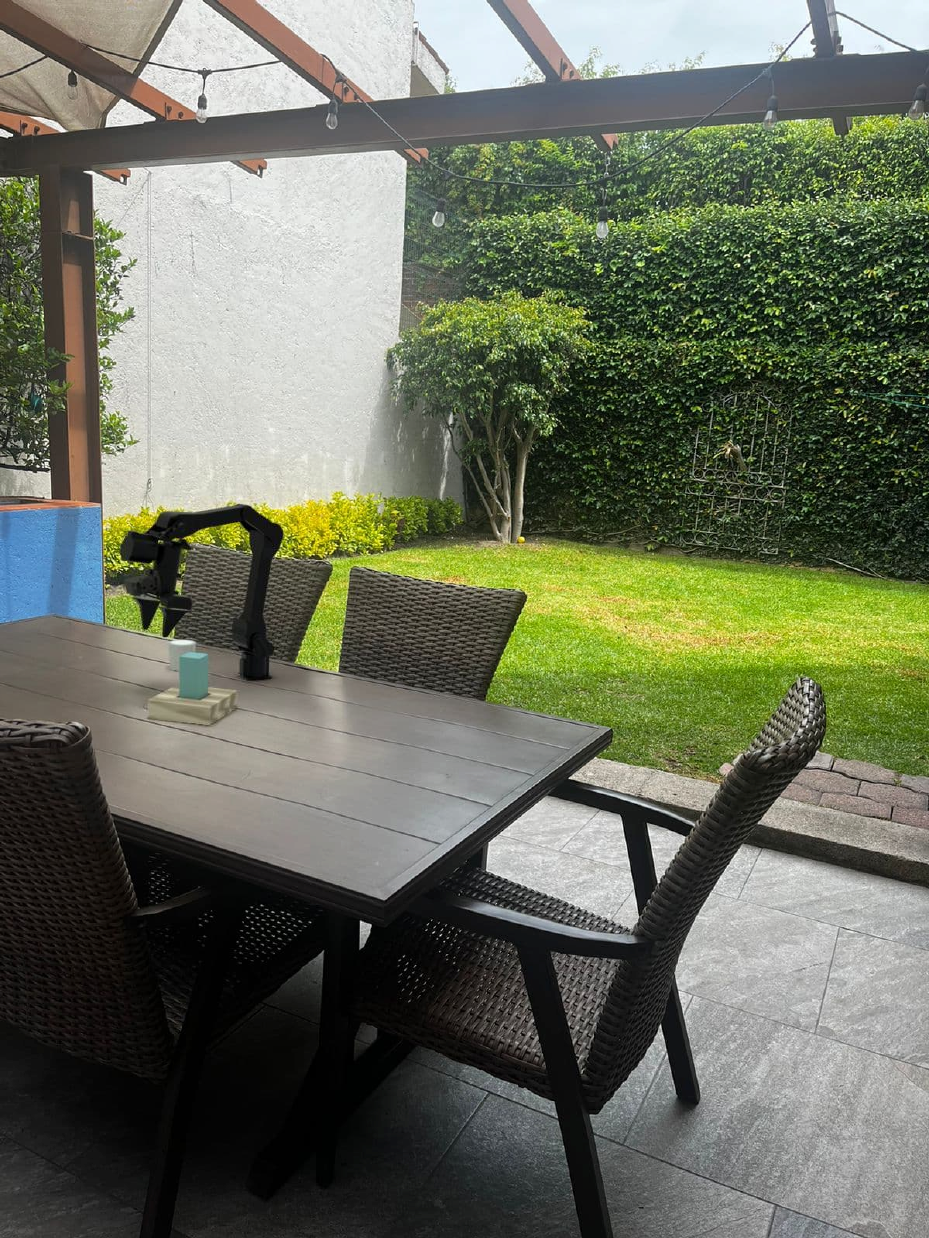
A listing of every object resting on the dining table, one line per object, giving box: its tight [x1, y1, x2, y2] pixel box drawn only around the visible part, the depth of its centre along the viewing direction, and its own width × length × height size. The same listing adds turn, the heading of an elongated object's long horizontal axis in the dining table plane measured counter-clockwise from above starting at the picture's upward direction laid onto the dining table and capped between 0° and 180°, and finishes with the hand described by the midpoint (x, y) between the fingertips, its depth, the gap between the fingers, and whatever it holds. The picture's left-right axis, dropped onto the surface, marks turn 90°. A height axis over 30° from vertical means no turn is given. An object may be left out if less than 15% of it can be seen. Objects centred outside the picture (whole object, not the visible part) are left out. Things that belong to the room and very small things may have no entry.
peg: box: [178, 652, 210, 700], centre depth 199 cm, size 4×4×13 cm
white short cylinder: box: [167, 639, 197, 672], centre depth 235 cm, size 7×7×7 cm
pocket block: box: [147, 684, 238, 726], centre depth 200 cm, size 14×14×4 cm
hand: (154, 633), depth 210 cm, fingers open, 9 cm apart
